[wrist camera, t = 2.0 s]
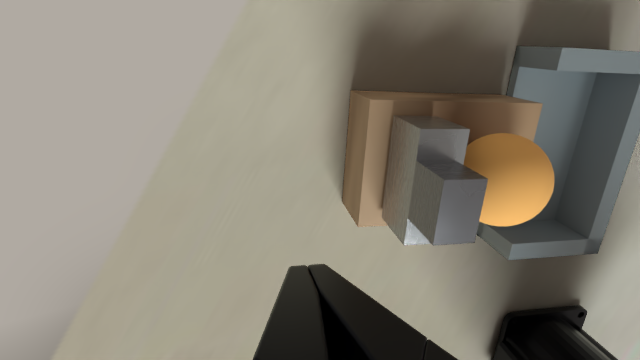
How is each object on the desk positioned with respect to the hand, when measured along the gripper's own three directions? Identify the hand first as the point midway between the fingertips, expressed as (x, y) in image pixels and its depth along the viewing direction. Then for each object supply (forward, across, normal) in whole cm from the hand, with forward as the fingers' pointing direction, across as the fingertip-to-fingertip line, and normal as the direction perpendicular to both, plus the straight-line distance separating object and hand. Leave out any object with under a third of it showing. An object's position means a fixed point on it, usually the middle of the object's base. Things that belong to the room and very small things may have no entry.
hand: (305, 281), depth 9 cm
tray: (+11, -16, 0) cm, 19 cm away
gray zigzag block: (+8, -6, 0) cm, 10 cm away
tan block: (+11, -8, 0) cm, 14 cm away
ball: (+6, -10, 0) cm, 11 cm away
